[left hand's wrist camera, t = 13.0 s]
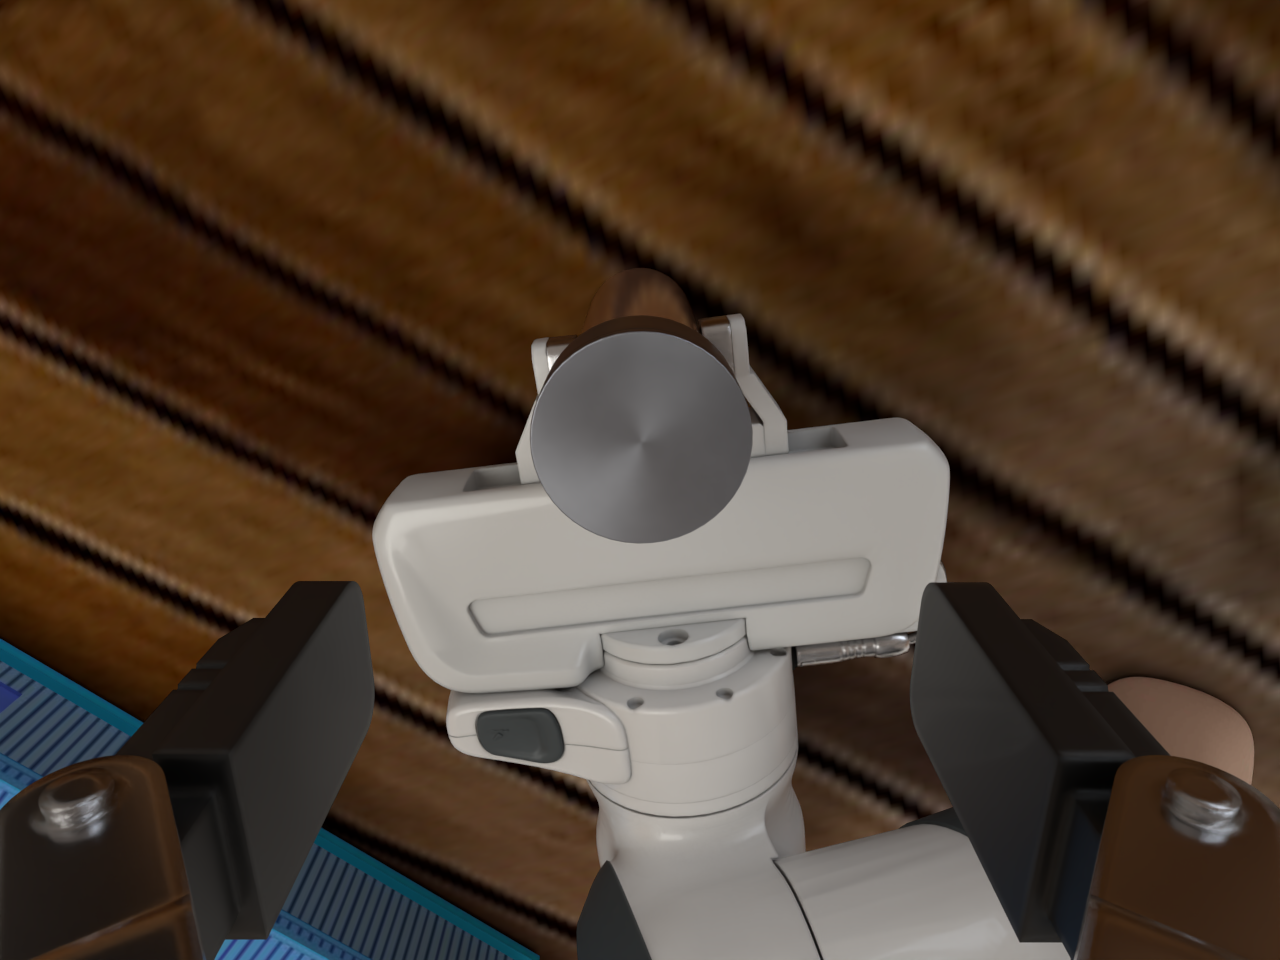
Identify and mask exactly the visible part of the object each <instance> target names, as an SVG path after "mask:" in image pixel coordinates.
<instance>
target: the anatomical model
mask: <svg viewBox="0 0 1280 960" xmlns="http://www.w3.org/2000/svg"><path fill="white" fill-rule="evenodd" d="M1107 686H1108V691H1109V692H1114V693H1115V694H1116V696H1117V697H1118V698H1119V699H1120V700H1121V701H1122V702H1123V703H1124V704H1125V705H1126V707H1127V708H1128V709H1129V710H1130V711H1131V712H1132V713H1133V714H1134V715H1135V717H1136V718H1137V719H1138V720H1139V721H1140V722H1141V723H1142V724H1143V725H1144V727H1145V728H1146V729H1147V730H1148V731H1149V732H1150V733H1151V734H1152V735H1153V736H1154V738H1155V739H1156V740H1157V741H1158V742H1159V743H1160V744H1161V745H1162V746H1163V748H1164V749H1165V750H1166V751H1167V752H1168V753H1169V754H1170V755H1171V756H1176V757H1182V758H1187V759H1191V760H1195V761H1198V762H1202V763H1205V764H1208V765H1210V766H1213V767H1216V768H1219V769H1221V770H1223V771H1225V772H1228V773H1230V774H1232V775H1234V776H1236V777H1238V778H1239V779H1241V780H1243V781H1245V782H1246V783H1248V784H1250V785H1251V783H1252V775H1253V767H1254V742H1253V737H1252V733H1251V730H1250V728H1249V726H1248V724H1247V723H1246V721H1245V720H1244V719H1243V718H1242V716H1241V715H1240V714H1239V713H1238V712H1237V711H1235V710H1234V709H1233V708H1232V707H1230V706H1229V705H1227V704H1225V703H1224V702H1222V701H1221V700H1219V699H1217V698H1215V697H1213V696H1210V695H1208V694H1206V693H1204V692H1201V691H1198V690H1195V689H1193V688H1190V687H1187V686H1184V685H1180V684H1176V683H1173V682H1169V681H1165V680H1160V679H1154V678H1148V677H1128V678H1123V679H1119V680H1117V681H1115V682H1112V683H1110V684H1109V685H1107Z"/></svg>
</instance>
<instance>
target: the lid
mask: <svg viewBox="0 0 1280 960" xmlns="http://www.w3.org/2000/svg"><path fill="white" fill-rule="evenodd" d="M752 446H753V430H752V422H751V416H750V412H749V408H748V404H747V402H746V400H745V397H744V395H743V392H742V390H741V388H740V386H739V384H738V381H737V379H736V377H735V375H734V373H733V371H732V369H731V367H730V366H729V364H728V362H727V360H726V359H725V358H724V356H723V355H722V354H721V353H720V351H719V350H718V349H717V348H716V347H715V346H714V345H713V344H712V343H711V342H710V341H709V340H708V339H707V338H705V337H704V336H703V335H701V334H700V333H698V332H697V331H695V330H694V329H692V328H690V327H688V326H686V325H684V324H682V323H679V322H676V321H674V320H671V319H666V318H662V317H657V316H647V315H638V316H626V317H620V318H615V319H612V320H609V321H606V322H603V323H601V324H599V325H596V326H594V327H592V328H590V329H589V330H587V331H585V332H584V333H582V334H581V335H579V336H578V337H577V338H576V339H575V340H573V341H572V342H571V343H570V344H569V345H568V346H567V347H566V348H565V349H564V350H563V351H562V353H561V354H560V355H559V357H558V358H557V359H556V361H555V362H554V364H553V366H552V367H551V369H550V371H549V373H548V375H547V378H546V380H545V382H544V384H543V387H542V389H541V391H540V394H539V396H538V398H537V401H536V404H535V407H534V410H533V414H532V419H531V425H530V448H531V455H532V460H533V464H534V468H535V470H536V473H537V476H538V479H539V481H540V483H541V484H542V486H543V488H544V490H545V492H546V493H547V495H548V496H549V497H550V499H551V500H552V502H553V503H554V504H555V505H556V506H557V507H558V508H559V509H560V510H561V512H562V513H564V514H565V515H566V516H567V517H568V518H570V519H571V520H572V521H573V522H575V523H576V524H578V525H579V526H581V527H582V528H584V529H586V530H588V531H590V532H592V533H594V534H596V535H599V536H602V537H604V538H607V539H610V540H615V541H620V542H625V543H637V544H641V543H656V542H663V541H668V540H671V539H675V538H678V537H681V536H683V535H686V534H688V533H691V532H693V531H694V530H696V529H698V528H700V527H702V526H703V525H705V524H706V523H708V522H709V521H710V520H712V519H713V518H714V517H716V516H717V515H718V514H719V513H720V512H721V511H722V510H723V509H724V508H725V507H726V506H727V504H728V503H729V502H730V501H731V499H732V498H733V497H734V495H735V494H736V492H737V491H738V489H739V487H740V486H741V484H742V481H743V479H744V477H745V475H746V472H747V469H748V466H749V462H750V459H751V452H752Z"/></svg>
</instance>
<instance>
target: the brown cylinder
mask: <svg viewBox="0 0 1280 960" xmlns="http://www.w3.org/2000/svg"><path fill="white" fill-rule="evenodd" d="M638 315H647V316H657V317H662V318H666V319H671V320H674V321H676V322H679V323H682V324H684V325H686V326H688V327H690V328H692V329H694V330H695V331H697V332H698V333H700V331H699V328H698V326H697V323H696V320H695V318H694V315H693V312H692V310H691V307H690V304H689V302H688V300H687V297H686V295H685V294H684V292H683V290H682V289H681V288H680V287H679V285H678V284H677V283H676V282H675V281H674V280H672V279H671V278H670V277H668V276H667V275H665V274H663V273H661V272H658V271H656V270H652V269H646V268H634V269H628V270H625V271H622V272H619V273H617V274H615V275H613V276H612V277H610V278H609V279H608V280H607V281H605V282H604V283H603V284H602V285H601V287H600V288H599V289H598V291H597V292H596V293H595V295H594V297H593V299H592V302H591V305H590V308H589V311H588V313H587V316H586V319H585V322H584V325H583V328H582V331H581V334H582V333H584V332H585V331H587V330H589V329H590V328H592V327H594V326H596V325H599V324H601V323H603V322H606V321H609V320H612V319H615V318H620V317H626V316H638ZM581 334H580V335H581Z"/></svg>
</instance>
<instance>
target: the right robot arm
mask: <svg viewBox="0 0 1280 960" xmlns="http://www.w3.org/2000/svg"><path fill="white" fill-rule="evenodd" d="M699 331H700V334H701V335H703V336H704V337H705V338H707V339H708V340H709V341H710V342H711V343H712V344H713V345H714V346H715V347H716V348H717V349H718V350H719V351H720V353H721V354H722V355H723V356H724V358H725V359H726V360H727V362H728V364H729V366H730V367H731V369H732V371H733V373H734V375H735V377H736V379H737V381H738V384H739V386H740V388H741V390H742V392H743V395H744V396H745V398H746V399H747V400H748V402H749V403H750V404H751V406H752V407H753V408H752V407H751V408H749V412H750V416H751V422H752V430H753V446H752V452H751V459H750V462H749V466H748V469H747V472H746V475H745V477H744V479H743V481H742V484H741V486H740V487H739V489H738V491H737V492H736V494H735V495H734V497H733V498H732V499H731V501H730V502H729V503H728V504H727V506H726V507H725V508H724V509H723V510H722V511H721V512H720V513H719V514H718V515H717V516H716V517H714V518H713V519H712V520H710V521H709V522H708V523H706V524H705V525H703V526H702V527H700V528H698V529H696V530H694V531H693V532H691V533H688V534H686V535H683V536H681V537H678V538H675V539H671V540H668V541H663V542H656V543H641V544H637V543H625V542H620V541H615V540H610V539H607V538H604V537H602V536H599V535H596V534H594V533H592V532H590V531H588V530H586V529H584V528H582V527H581V526H579V525H578V524H576V523H575V522H573V521H572V520H571V519H570V518H568V517H567V516H566V515H565V514H564V513H562V512H561V510H560V509H559V508H558V507H557V506H556V505H555V504H554V503H553V502H552V500H551V499H550V497H549V496H548V495H547V493H546V492H545V490H544V488H543V486H542V484H541V483H540V481H539V479H538V476H537V473H536V470H535V468H534V464H533V460H532V455H531V448H530V425H531V419H532V414H533V410H534V407H535V404H536V401H537V398H538V396H539V394H540V391H541V389H542V387H543V384H544V382H545V380H546V378H547V375H548V373H549V371H550V369H551V367H552V366H553V364H554V362H555V361H556V359H557V358H558V357H559V355H560V354H561V353H562V351H563V350H564V349H565V348H566V347H567V346H568V345H569V344H570V343H571V342H572V341H573V340H575V339H576V338H577V335H568V336H559V337H550V338H549V337H548V338H541V339H535V340H534V342H533V344H532V362H533V368H534V374H535V380H536V386H537V391H538V395H537V398H536V400H535V402H534V405H533V408H532V410H531V413H530V415H529V418H528V420H527V423H526V426H525V428H524V431H523V433H522V436H521V439H520V441H519V444H518V446H517V449H516V452H515V453H516V458H517V462H516V463H507V464H499V465H491V466H482V467H474V468H465V469H457V470H449V471H440V472H432V473H423V474H416V475H411V476H409V477H407V478H405V479H404V480H403V481H402V482H401V483H400V484H399V485H398V487H397V488H396V489H395V490H394V491H393V492H392V494H391V495H390V496H389V497H388V499H387V500H386V502H385V503H384V505H383V507H382V508H381V510H380V512H379V514H378V516H377V518H376V520H375V522H374V526H373V533H372V537H373V544H374V549H375V554H376V558H377V561H378V565H379V569H380V572H381V575H382V579H383V582H384V585H385V588H386V591H387V594H388V597H389V600H390V603H391V605H392V608H393V611H394V613H395V616H396V619H397V621H398V624H399V626H400V629H401V631H402V633H403V636H404V638H405V640H406V643H407V645H408V647H409V650H410V651H411V653H412V655H413V657H414V659H415V660H416V662H417V663H418V665H419V666H420V667H421V669H422V670H423V671H424V672H425V673H426V674H427V675H428V676H429V677H430V678H431V679H432V680H434V681H435V682H436V683H438V684H440V685H441V686H443V687H446V688H448V689H450V690H451V692H450V696H449V702H448V709H447V716H446V724H447V731H448V735H449V738H450V741H451V743H452V744H453V746H454V747H455V748H456V749H457V750H459V751H460V752H462V753H465V754H468V755H471V756H476V757H481V758H488V759H494V760H501V761H507V762H513V763H519V764H525V765H530V766H535V767H540V768H545V769H550V770H554V771H558V772H562V773H566V774H570V775H574V776H577V777H581V778H584V779H586V780H587V782H588V784H589V786H590V788H591V790H592V791H593V793H594V795H595V797H596V799H597V800H598V803H599V809H600V810H599V815H598V821H597V829H596V843H597V850H598V856H599V862H600V867H601V869H600V870H599V872H598V874H597V876H596V878H595V880H594V882H593V884H592V886H591V889H590V891H589V894H588V897H587V899H586V902H585V904H584V907H583V910H582V912H581V915H580V918H579V920H578V924H577V955H578V960H1071V958H1070V956H1069V954H1068V953H1067V951H1066V949H1065V947H1064V945H1063V943H1020V942H1019V940H1018V938H1017V936H1016V934H1015V932H1014V930H1013V928H1012V926H1011V924H1010V922H1009V920H1008V918H1007V916H1006V914H1005V912H1004V910H1003V908H1002V906H1001V903H1000V901H999V899H998V897H997V895H996V893H995V891H994V889H993V887H992V885H991V883H990V881H989V879H988V877H987V875H986V873H985V871H984V869H983V867H982V865H981V863H980V861H979V859H978V857H977V854H976V852H975V850H974V848H973V846H972V844H971V842H970V840H969V838H968V836H967V834H966V832H965V830H964V828H963V826H962V824H961V822H960V820H959V818H958V816H957V814H956V812H955V810H954V808H953V807H952V808H949V809H946V810H944V811H941V812H938V813H935V814H932V815H929V816H927V817H924V818H921V819H918V820H915V821H912V822H909V823H907V824H905V825H903V826H902V827H900V828H899V829H897V830H892V831H888V832H884V833H880V834H876V835H872V836H868V837H864V838H860V839H856V840H852V841H848V842H844V843H840V844H836V845H832V846H828V847H824V848H820V849H816V850H812V851H808V852H806V849H805V829H804V821H803V815H802V810H801V807H800V804H799V801H798V799H797V797H796V794H795V792H794V790H793V788H792V784H791V780H792V776H793V772H794V769H795V766H796V761H797V755H798V732H797V717H796V703H795V689H794V677H793V670H795V667H802V666H812V665H822V664H831V663H837V662H841V661H846V660H848V659H855V657H856V658H862V656H863V657H873V656H874V657H875V658H887V657H894V656H898V655H902V654H905V653H907V652H909V649H910V644H913V643H916V636H917V629H918V621H919V613H920V606H921V599H922V595H923V592H924V589H925V587H926V586H927V585H928V584H929V583H931V582H947V575H946V570H945V567H944V564H943V562H942V561H941V555H942V549H943V543H944V537H945V530H946V522H947V512H948V502H949V488H950V468H949V464H948V461H947V459H946V457H945V455H944V453H943V452H942V451H941V449H940V448H939V447H938V446H937V445H936V444H935V442H934V441H933V440H932V439H931V438H930V437H929V436H928V435H926V434H925V433H924V432H923V431H922V430H920V429H919V428H918V427H916V426H915V425H914V424H912V423H911V422H910V421H908V420H906V419H904V418H886V419H878V420H870V421H862V422H853V423H845V424H836V425H828V426H819V427H811V428H802V429H794V430H787V420H786V418H785V416H784V415H783V413H782V411H781V409H780V408H779V406H778V404H777V403H776V401H775V400H774V398H773V397H772V396H771V394H770V393H769V391H768V390H767V389H766V387H765V386H764V384H763V383H762V382H761V380H760V379H759V377H758V376H757V375H756V373H755V372H754V371H753V369H752V368H751V366H750V365H749V356H748V343H747V331H746V326H745V320H744V318H743V316H742V315H741V314H733V315H725V316H718V317H711V318H704V319H699ZM911 631H915V632H912V633H909V634H907V632H911Z"/></svg>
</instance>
